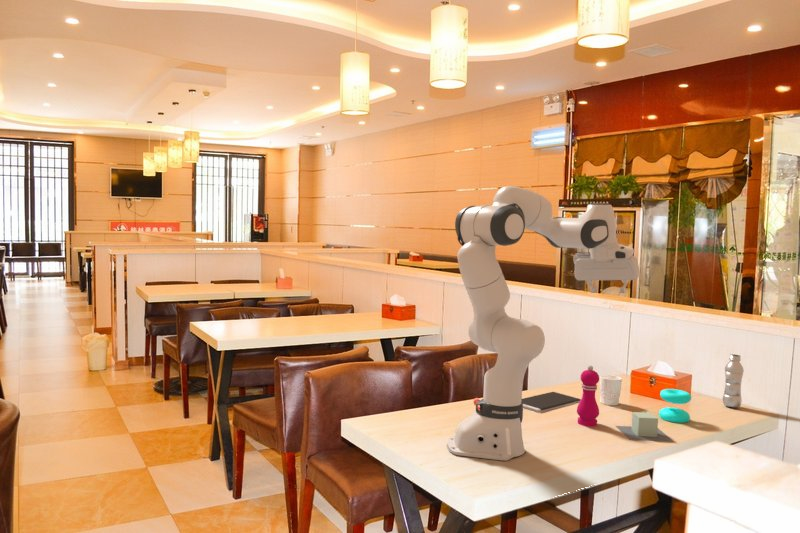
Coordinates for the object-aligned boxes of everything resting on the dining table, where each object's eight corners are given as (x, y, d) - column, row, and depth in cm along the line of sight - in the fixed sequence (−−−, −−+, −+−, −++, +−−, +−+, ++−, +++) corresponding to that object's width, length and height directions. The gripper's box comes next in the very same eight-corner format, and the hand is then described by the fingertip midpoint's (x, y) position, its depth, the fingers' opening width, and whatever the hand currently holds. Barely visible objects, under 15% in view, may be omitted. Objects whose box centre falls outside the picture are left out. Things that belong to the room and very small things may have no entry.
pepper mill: (599, 428, 204) (603, 368, 203) (576, 426, 205) (580, 366, 204) (597, 422, 211) (600, 364, 210) (575, 420, 212) (578, 362, 211)
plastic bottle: (741, 406, 237) (745, 355, 236) (740, 410, 232) (744, 357, 231) (722, 403, 241) (726, 352, 240) (721, 407, 235) (724, 355, 234)
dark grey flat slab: (582, 403, 237) (582, 398, 237) (539, 414, 219) (539, 409, 219) (552, 395, 247) (553, 391, 247) (509, 405, 229) (510, 400, 229)
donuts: (695, 392, 217) (685, 397, 209) (693, 420, 217) (683, 426, 210) (666, 386, 224) (655, 391, 216) (664, 413, 224) (654, 419, 217)
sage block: (637, 436, 197) (639, 417, 196) (631, 430, 203) (632, 412, 202) (657, 437, 196) (658, 418, 196) (649, 430, 202) (651, 412, 202)
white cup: (623, 406, 232) (624, 380, 231) (602, 405, 232) (603, 379, 231) (616, 400, 239) (617, 375, 239) (595, 399, 239) (597, 374, 239)
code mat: (629, 440, 193) (629, 439, 193) (615, 426, 207) (615, 425, 207) (674, 442, 192) (674, 441, 192) (657, 428, 206) (657, 427, 206)
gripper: (569, 255, 203) (574, 295, 206) (634, 253, 192) (637, 295, 195) (575, 250, 208) (579, 289, 211) (638, 248, 197) (642, 289, 200)
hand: (608, 292), depth 203 cm, fingers open, 8 cm apart
